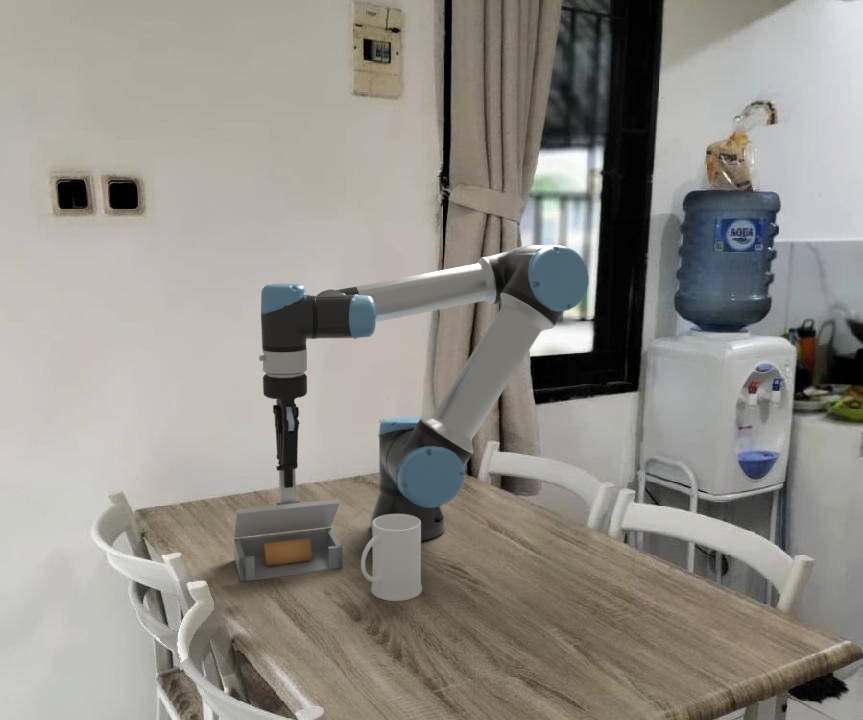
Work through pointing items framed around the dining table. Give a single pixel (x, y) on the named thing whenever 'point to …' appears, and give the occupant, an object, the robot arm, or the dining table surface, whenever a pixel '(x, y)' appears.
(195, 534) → the dining table surface
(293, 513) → the lid
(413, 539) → the mug
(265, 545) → the tan foam roller
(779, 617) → the dining table surface
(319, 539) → the shallow grey tray
